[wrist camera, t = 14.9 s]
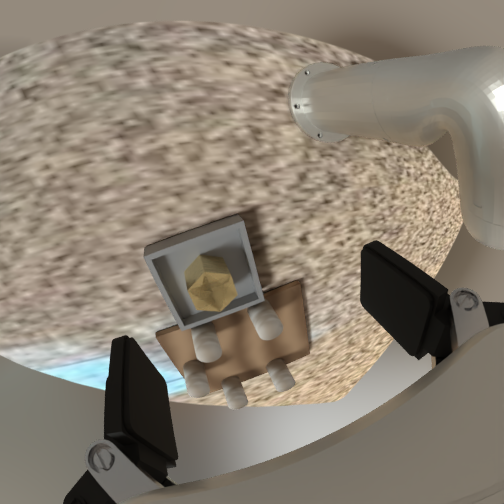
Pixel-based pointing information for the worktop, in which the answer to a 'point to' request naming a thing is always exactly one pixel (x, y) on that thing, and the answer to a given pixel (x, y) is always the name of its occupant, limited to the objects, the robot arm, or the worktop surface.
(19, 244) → the worktop surface
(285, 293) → the board
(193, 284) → the faceted yellow gem
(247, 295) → the tray
